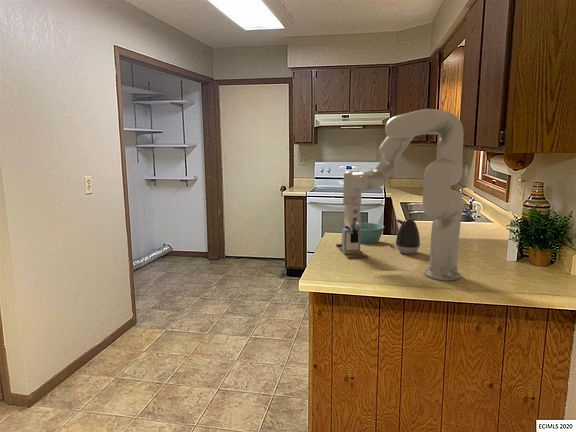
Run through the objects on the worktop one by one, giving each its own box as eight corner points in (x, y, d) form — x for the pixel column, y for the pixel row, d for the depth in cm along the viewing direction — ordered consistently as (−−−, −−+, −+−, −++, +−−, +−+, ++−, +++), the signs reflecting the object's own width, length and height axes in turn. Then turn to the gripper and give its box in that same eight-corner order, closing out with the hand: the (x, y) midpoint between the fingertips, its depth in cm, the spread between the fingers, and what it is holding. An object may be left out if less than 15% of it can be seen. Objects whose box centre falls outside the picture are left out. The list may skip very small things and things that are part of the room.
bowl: (369, 248, 192) (369, 230, 190) (343, 242, 204) (344, 225, 202) (390, 243, 202) (390, 226, 200) (365, 237, 213) (365, 221, 212)
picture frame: (360, 252, 178) (360, 230, 177) (344, 253, 178) (344, 230, 176) (357, 250, 182) (358, 228, 181) (341, 250, 182) (342, 228, 180)
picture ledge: (367, 261, 171) (367, 255, 170) (348, 262, 170) (348, 256, 169) (353, 248, 191) (353, 243, 190) (336, 249, 190) (336, 244, 189)
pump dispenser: (398, 248, 191) (400, 215, 189) (422, 251, 186) (423, 217, 183) (392, 253, 183) (393, 219, 180) (416, 256, 178) (418, 221, 175)
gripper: (367, 203, 168) (365, 244, 171) (354, 197, 185) (353, 235, 188) (349, 203, 167) (347, 245, 170) (338, 197, 184) (337, 235, 187)
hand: (351, 239), depth 179 cm, fingers open, 9 cm apart
